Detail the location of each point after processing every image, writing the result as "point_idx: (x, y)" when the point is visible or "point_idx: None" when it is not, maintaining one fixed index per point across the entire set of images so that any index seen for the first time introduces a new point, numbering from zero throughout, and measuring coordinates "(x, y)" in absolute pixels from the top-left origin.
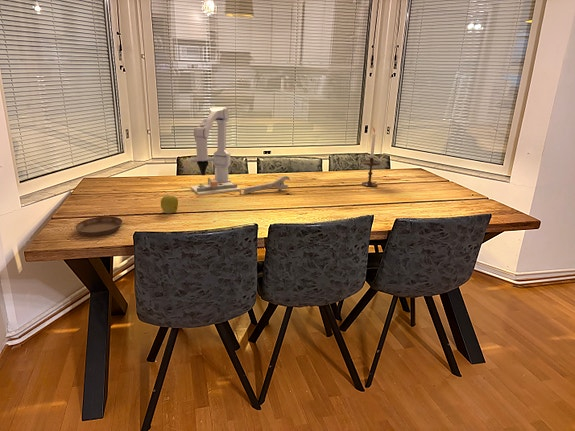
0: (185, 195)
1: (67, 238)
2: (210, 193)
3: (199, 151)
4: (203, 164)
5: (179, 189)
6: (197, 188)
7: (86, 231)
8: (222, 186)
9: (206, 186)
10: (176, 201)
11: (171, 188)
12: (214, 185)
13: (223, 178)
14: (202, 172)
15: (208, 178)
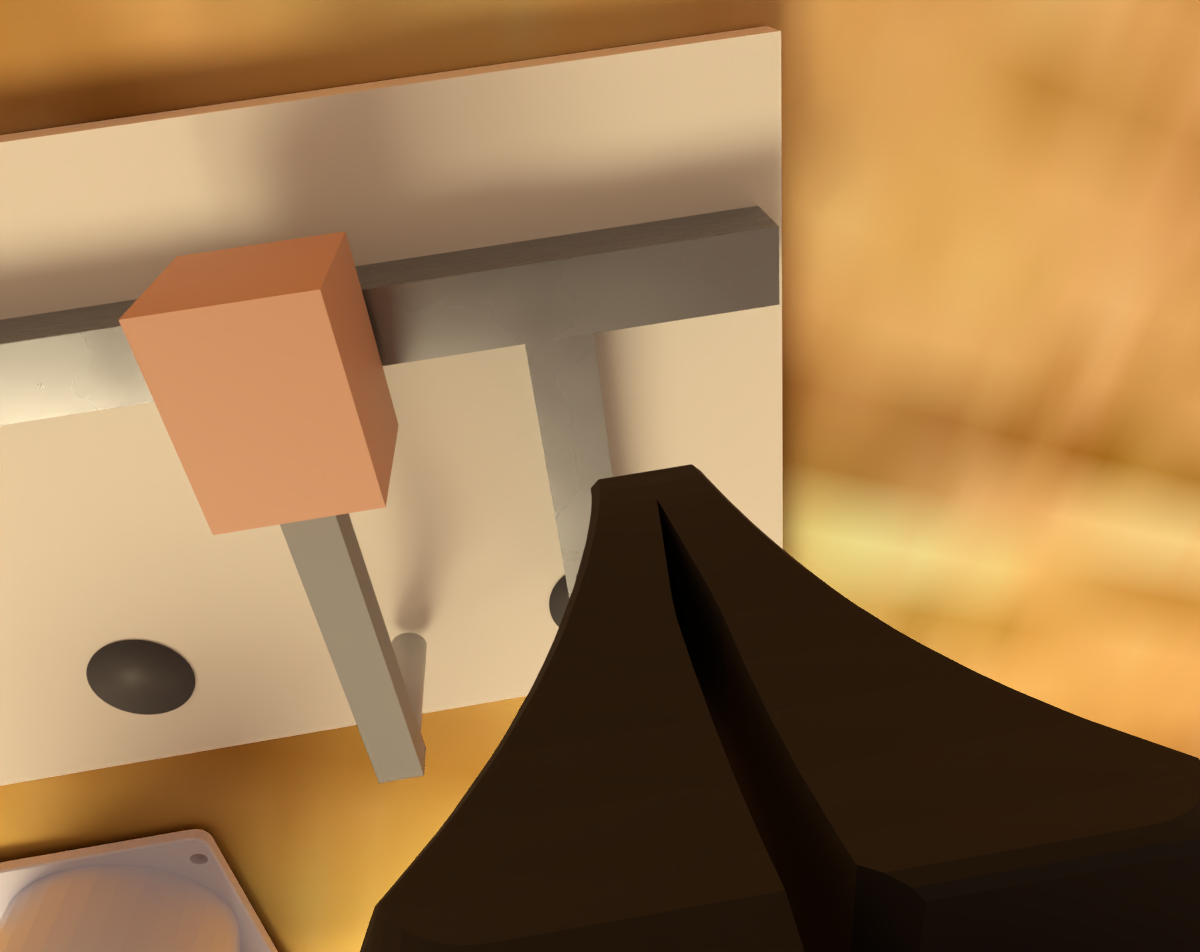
0: (1063, 97)
1: None
2: (431, 75)
3: None
4: (846, 828)
5: (987, 569)
6: (765, 282)
7: None
8: (34, 336)
9: (472, 584)
10: None
11: (1081, 644)
12: (266, 258)
13: (73, 921)
14: (729, 512)
15: (405, 743)
